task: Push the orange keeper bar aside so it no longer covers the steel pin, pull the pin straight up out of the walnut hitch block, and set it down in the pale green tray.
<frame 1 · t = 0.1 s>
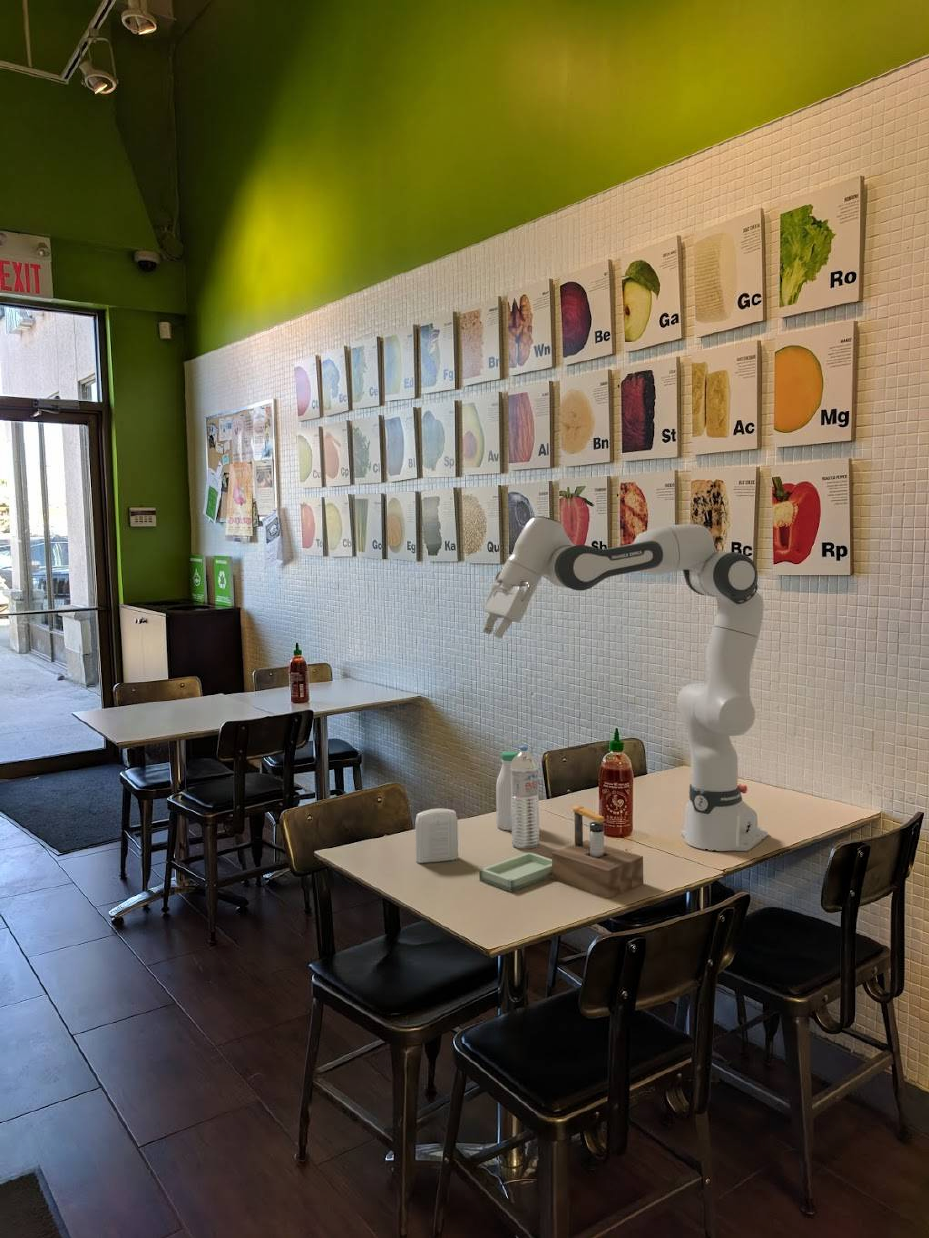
hand: (491, 635, 208), 54 cm above the table, tool tilted 30°, fingers open, 8 cm apart
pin: (597, 880, 202), resting in hitch block
hitch block: (597, 880, 202), on the table
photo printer: (437, 860, 218), on the table
tray: (520, 876, 206), on the table
keeper: (587, 813, 204), point 14 cm above the table, hinge at 0.0°
milk bottle: (511, 827, 242), on the table
water bottle: (525, 846, 227), on the table
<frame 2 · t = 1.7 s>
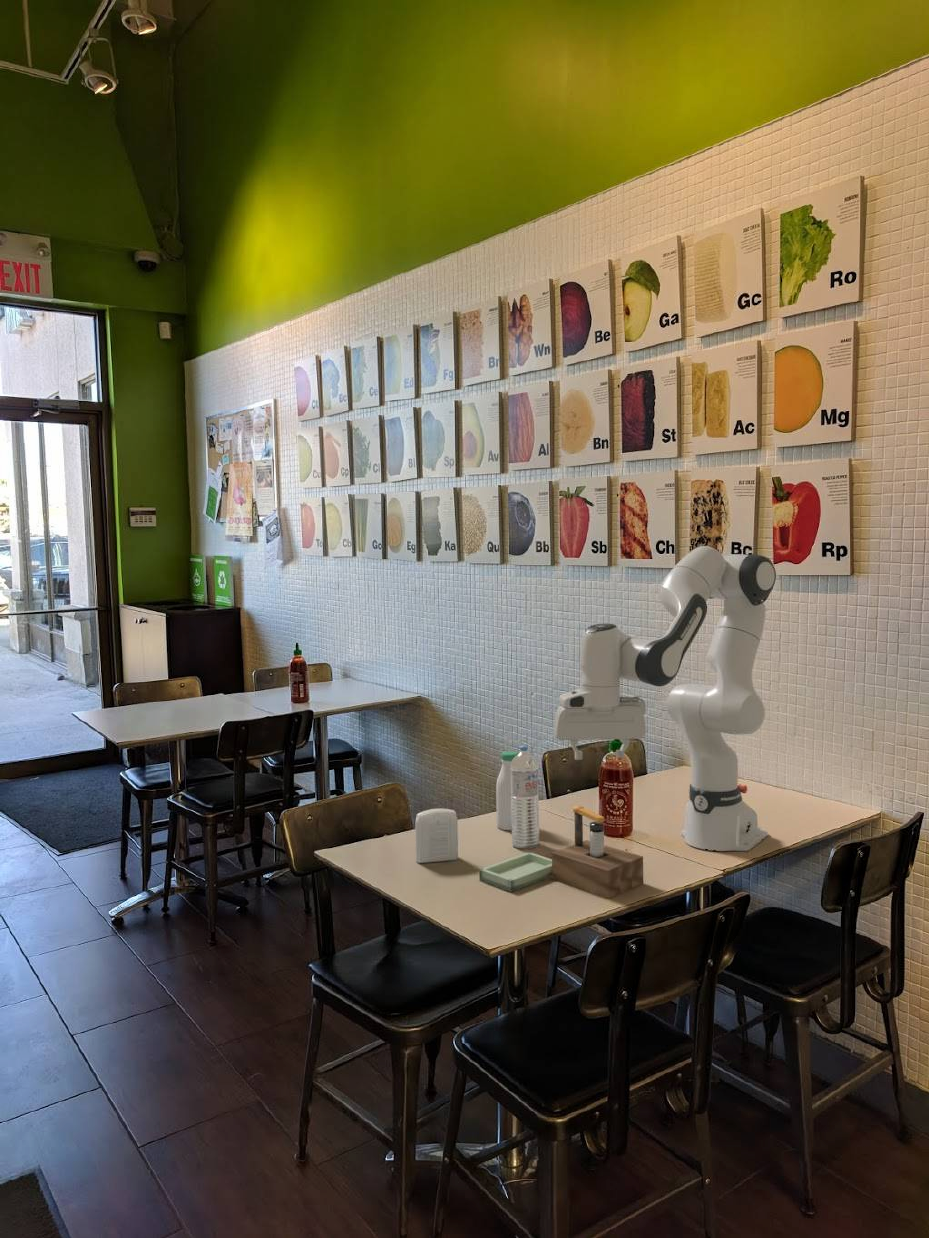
hand: (599, 758, 203), 27 cm above the table, tool pointing down, fingers open, 8 cm apart
nothing on the table moved.
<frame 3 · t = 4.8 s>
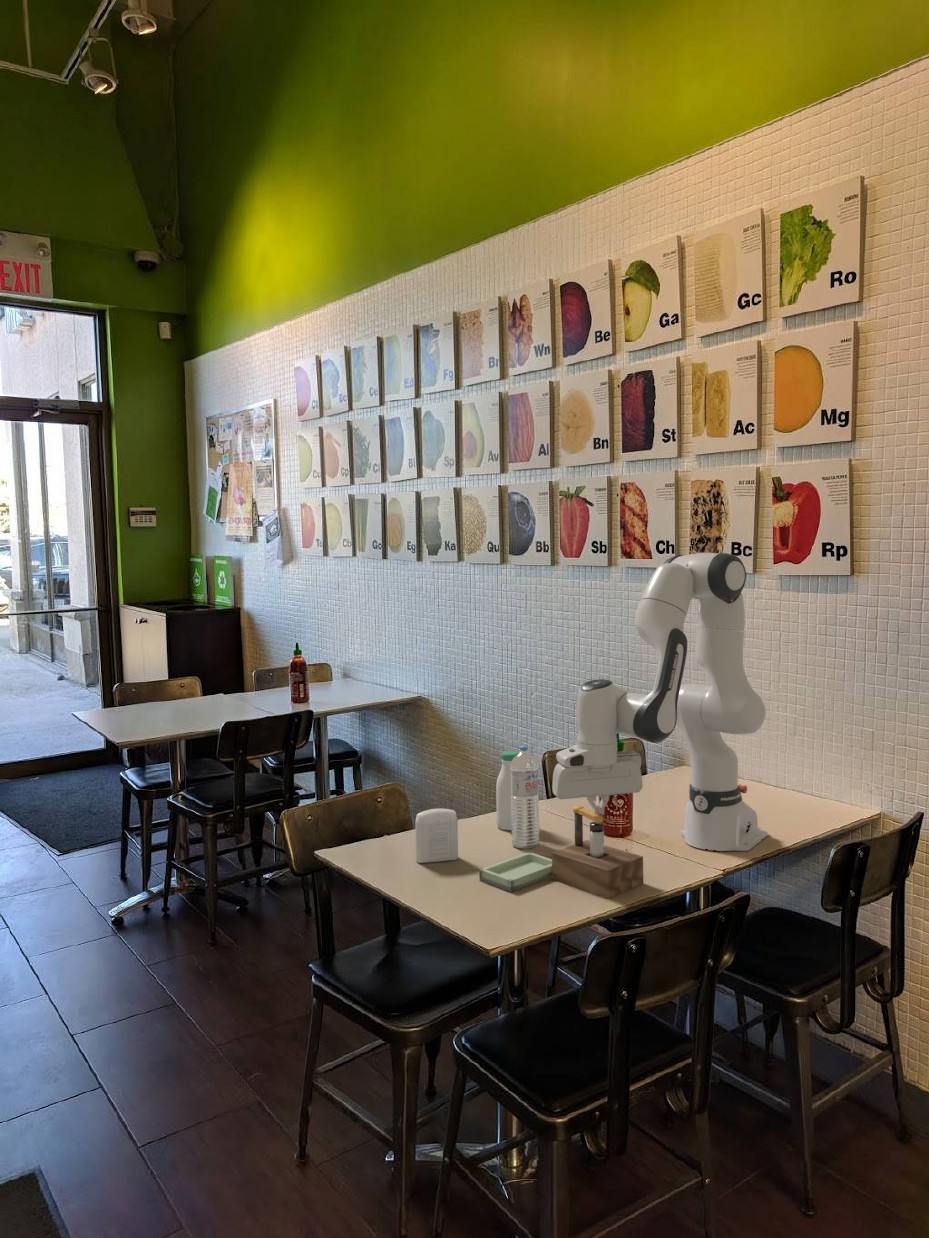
hand: (598, 814, 203), 14 cm above the table, tool pointing down, fingers closed, pressing on keeper
keeper: (587, 813, 204), point 14 cm above the table, hinge at -1.4°, touching gripper
everything else where it was.
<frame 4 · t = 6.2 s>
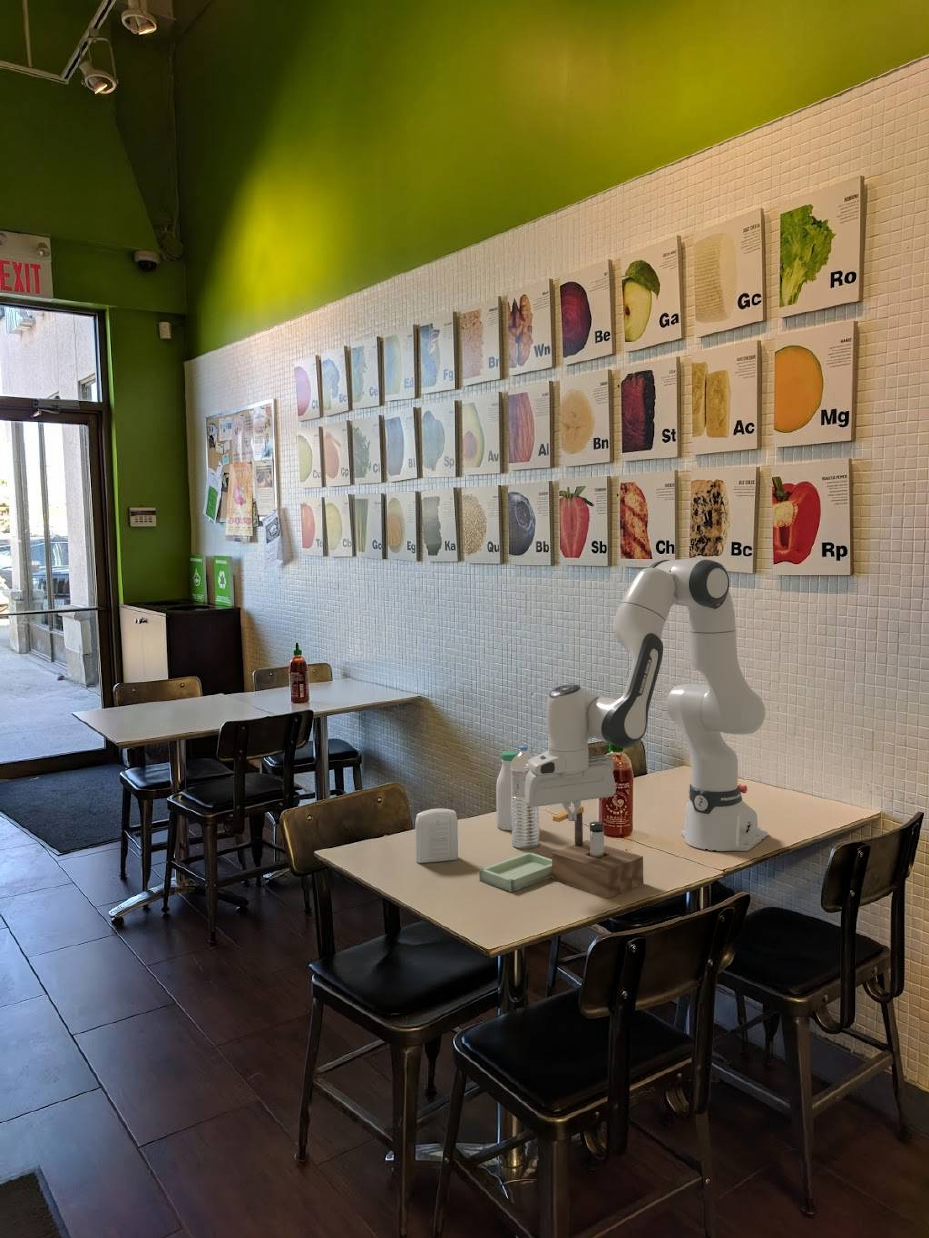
hand: (572, 820, 202), 13 cm above the table, tool pointing down, fingers closed, pressing on keeper
keeper: (568, 813, 204), point 14 cm above the table, hinge at -66.1°, touching gripper
everything else where it was.
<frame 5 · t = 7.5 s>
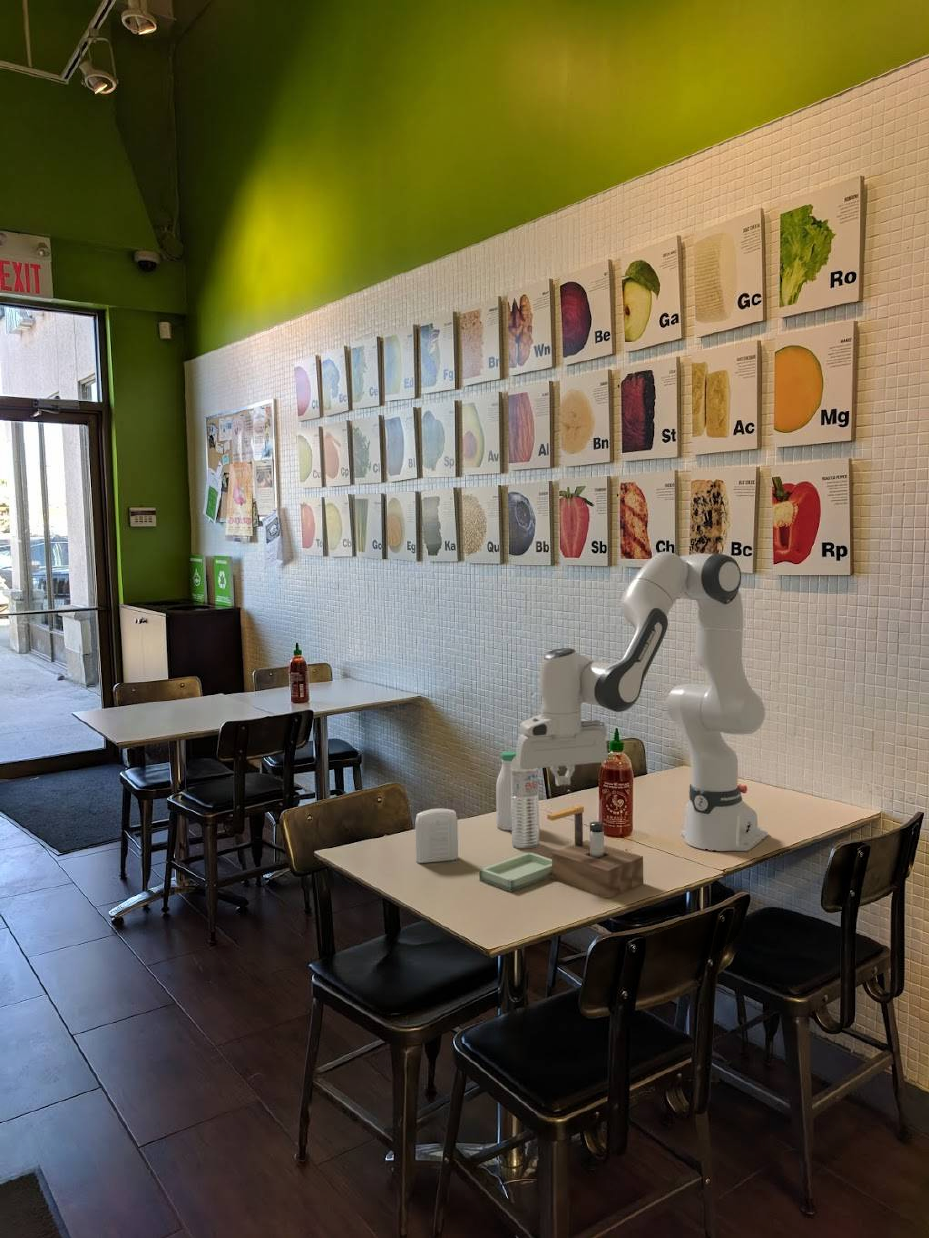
hand: (562, 784, 201), 22 cm above the table, tool pointing down, fingers closed
keeper: (566, 812, 205), point 14 cm above the table, hinge at -77.5°
everything else where it was.
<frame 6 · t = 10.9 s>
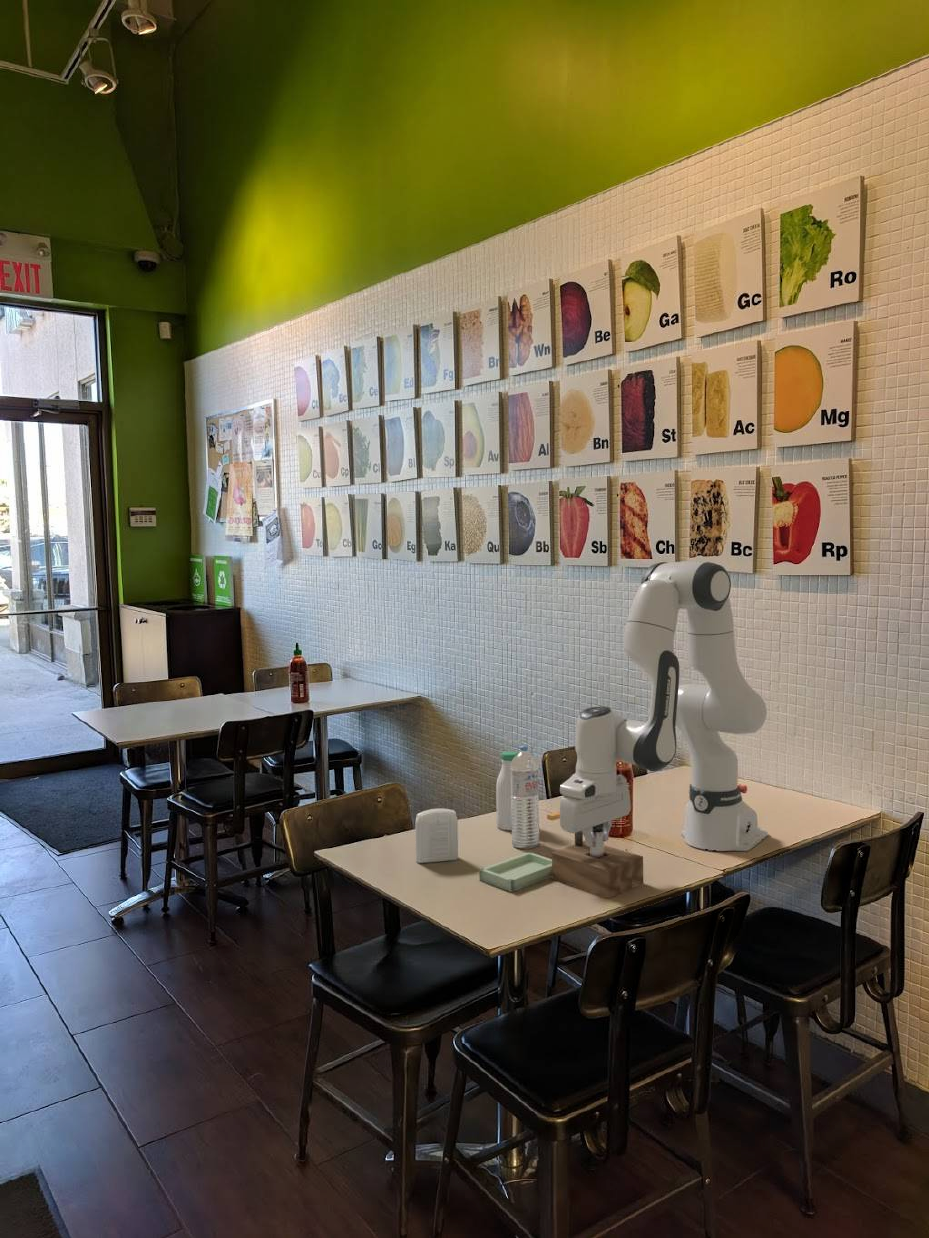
hand: (596, 842, 201), 9 cm above the table, tool pointing down, fingers closed on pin, 3 cm apart
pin: (597, 880, 202), resting in hitch block, touching gripper
keeper: (566, 812, 205), point 14 cm above the table, hinge at -77.8°
everything else where it was.
when the fingers open (11 cm above the table, at t = 17.0 s): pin stays where it is, resting on tray.
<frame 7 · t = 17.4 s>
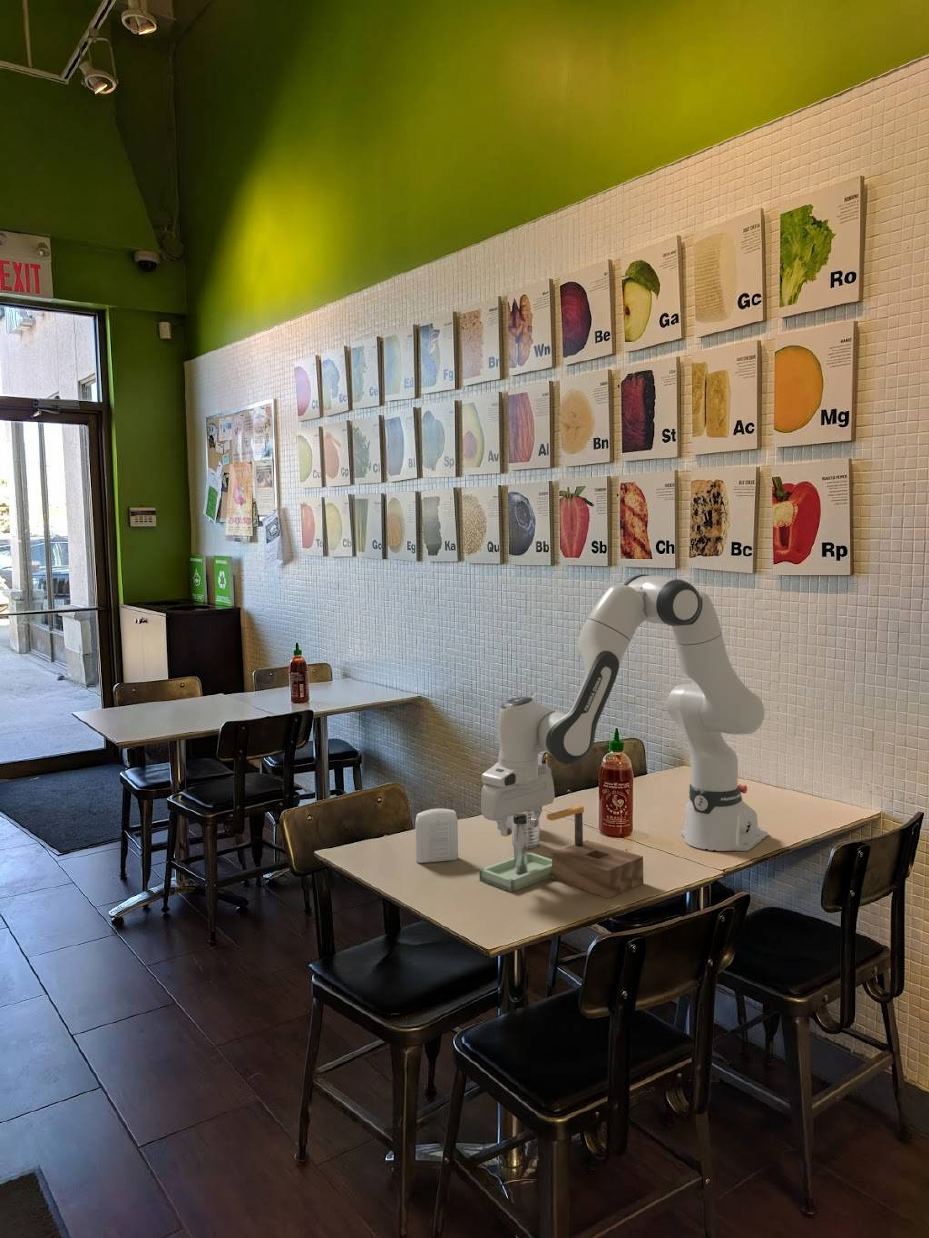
hand: (519, 830, 205), 11 cm above the table, tool pointing down, fingers open, 8 cm apart
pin: (521, 872, 206), point 1 cm above the table, touching tray
everything else where it was.
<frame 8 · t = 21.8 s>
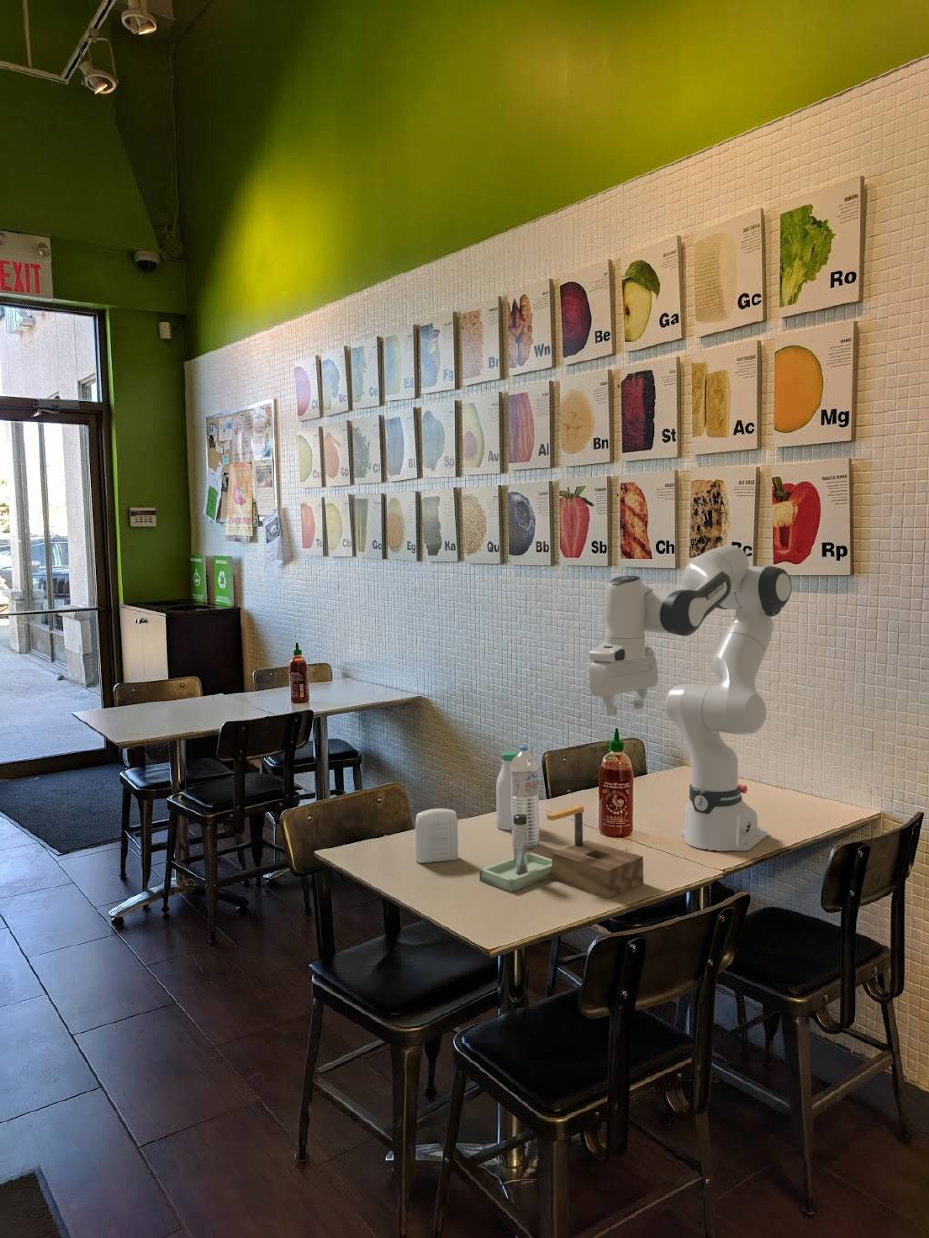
hand: (625, 711, 203), 37 cm above the table, tool pointing down, fingers open, 8 cm apart
nothing on the table moved.
at the end: keeper at -78° (first picture: +0°); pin inside the target area on the tray (0.1 cm from its centre), point 1.0 cm above the tray's base; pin touching tray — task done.
